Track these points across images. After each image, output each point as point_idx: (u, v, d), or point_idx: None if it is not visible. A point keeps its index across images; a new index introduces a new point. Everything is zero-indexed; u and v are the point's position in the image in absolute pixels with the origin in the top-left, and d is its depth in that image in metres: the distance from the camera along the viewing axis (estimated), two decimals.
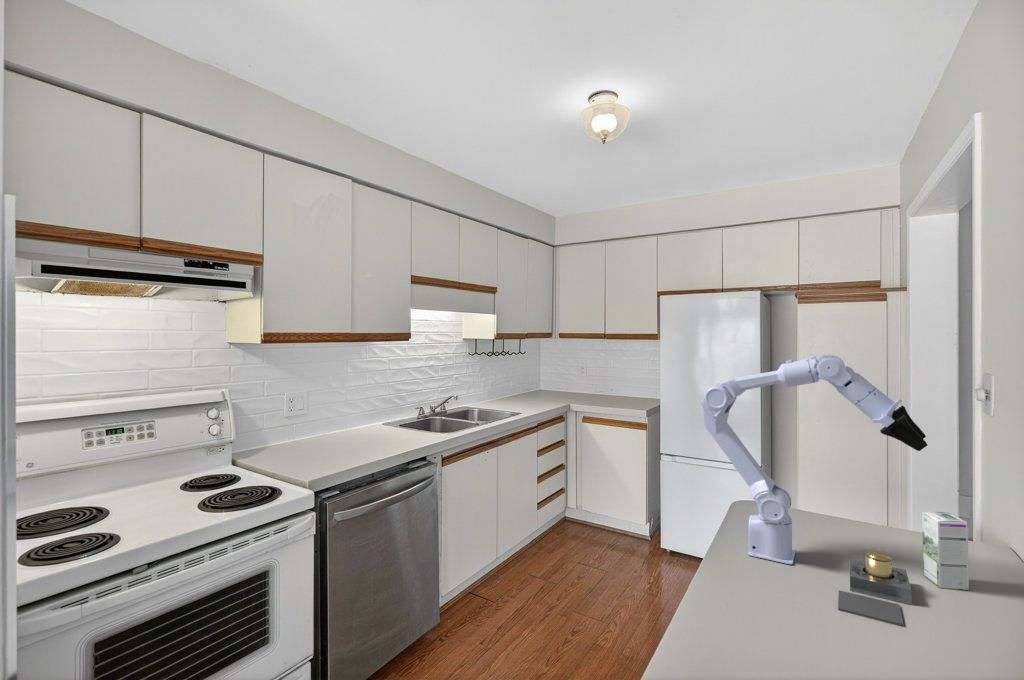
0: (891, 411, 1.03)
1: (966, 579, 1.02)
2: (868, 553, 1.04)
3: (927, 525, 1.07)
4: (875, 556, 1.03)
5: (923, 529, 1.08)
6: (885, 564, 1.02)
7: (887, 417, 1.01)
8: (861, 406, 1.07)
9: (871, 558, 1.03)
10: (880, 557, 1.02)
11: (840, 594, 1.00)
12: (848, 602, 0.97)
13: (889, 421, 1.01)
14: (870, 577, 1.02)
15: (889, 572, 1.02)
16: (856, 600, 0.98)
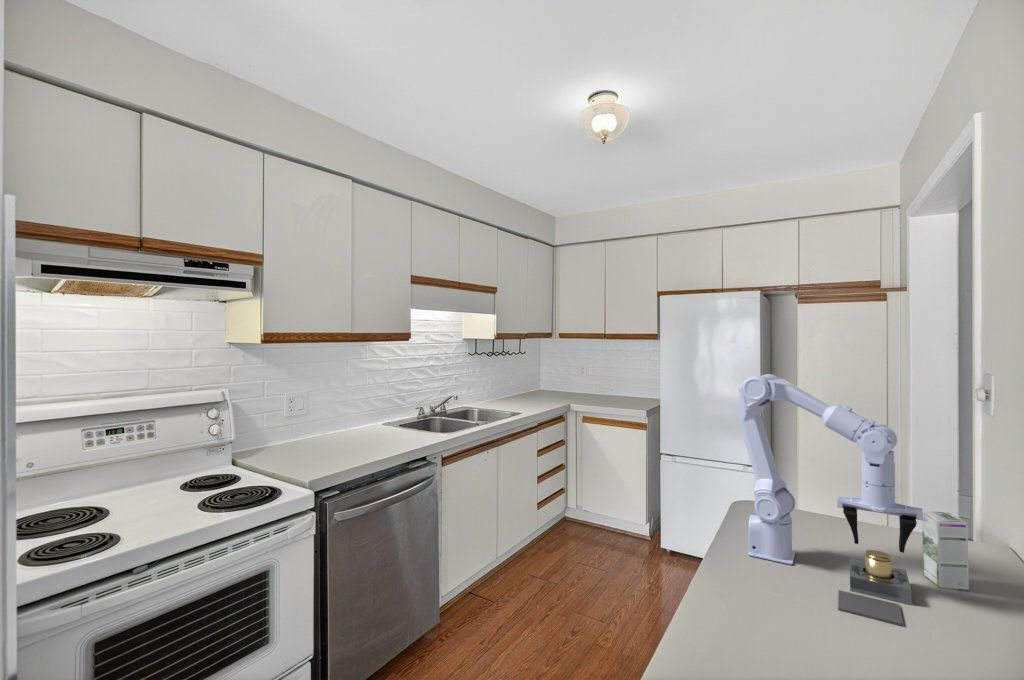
0: (853, 504, 1.05)
1: (966, 579, 1.02)
2: (868, 553, 1.04)
3: (927, 525, 1.07)
4: (875, 556, 1.03)
5: (923, 529, 1.08)
6: (885, 564, 1.02)
7: (837, 500, 1.07)
8: None
9: (871, 558, 1.03)
10: (880, 557, 1.02)
11: (840, 594, 1.00)
12: (848, 602, 0.97)
13: None
14: (870, 577, 1.02)
15: (889, 572, 1.02)
16: (856, 600, 0.98)
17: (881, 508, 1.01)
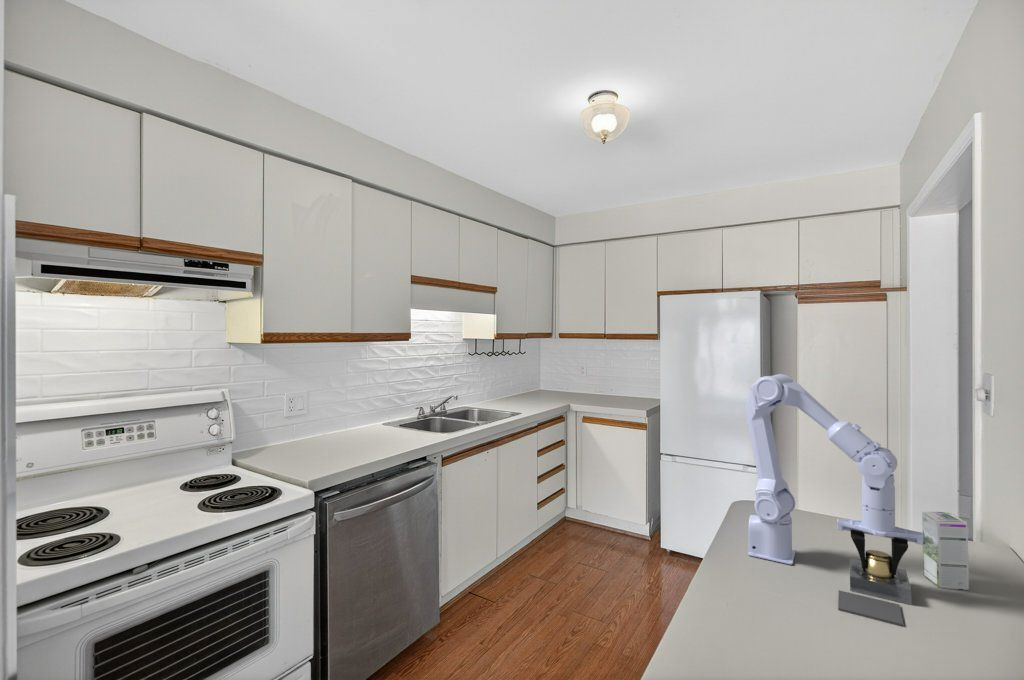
0: (853, 527, 1.05)
1: (966, 579, 1.02)
2: (868, 553, 1.04)
3: (927, 525, 1.07)
4: (875, 556, 1.03)
5: (923, 529, 1.08)
6: (885, 564, 1.02)
7: (837, 523, 1.07)
8: None
9: (871, 558, 1.03)
10: (880, 557, 1.02)
11: (840, 594, 1.00)
12: (848, 602, 0.97)
13: None
14: (870, 577, 1.02)
15: (889, 572, 1.02)
16: (856, 600, 0.98)
17: (881, 532, 1.01)
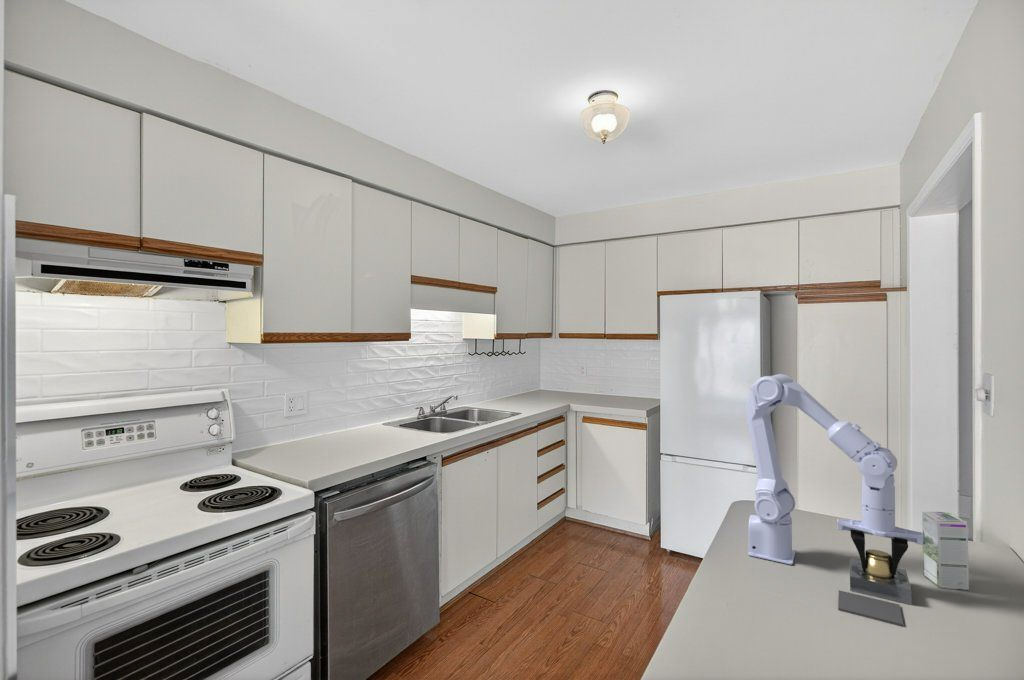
0: (853, 527, 1.05)
1: (966, 579, 1.02)
2: (868, 552, 1.04)
3: (927, 525, 1.07)
4: (875, 555, 1.03)
5: (923, 529, 1.08)
6: (885, 563, 1.02)
7: (837, 523, 1.07)
8: None
9: (871, 557, 1.03)
10: (880, 556, 1.02)
11: (840, 594, 1.00)
12: (848, 602, 0.97)
13: None
14: (870, 577, 1.02)
15: (889, 571, 1.02)
16: (856, 600, 0.98)
17: (881, 532, 1.01)
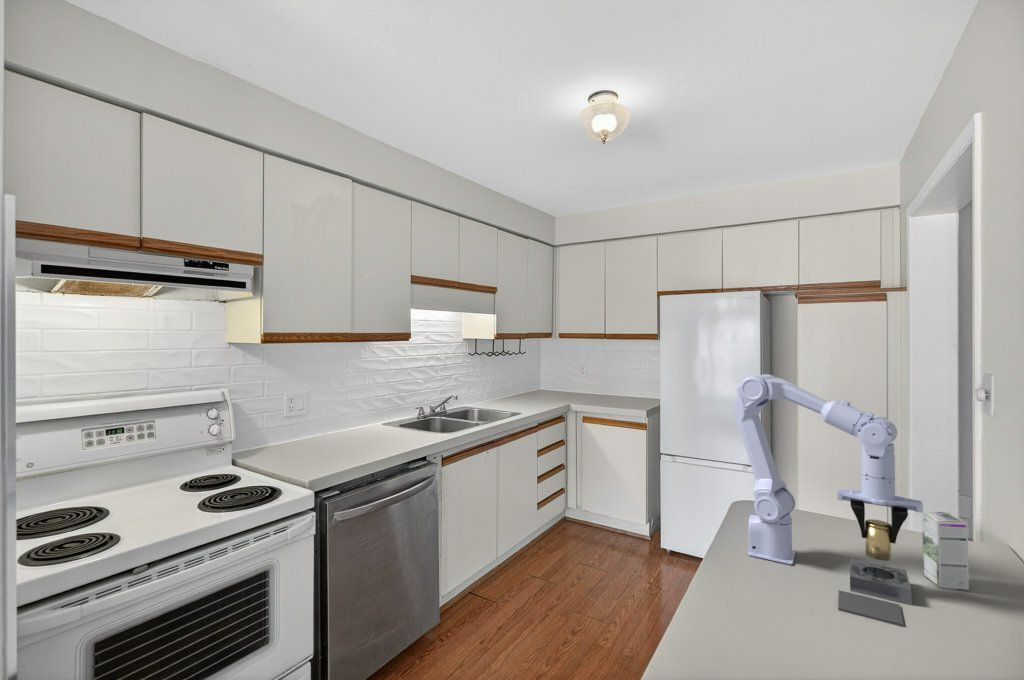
0: (853, 496, 1.05)
1: (966, 579, 1.02)
2: (868, 522, 1.04)
3: (927, 525, 1.07)
4: (875, 524, 1.03)
5: (923, 529, 1.08)
6: (885, 532, 1.02)
7: (837, 493, 1.07)
8: None
9: (871, 526, 1.03)
10: (880, 525, 1.02)
11: (840, 594, 1.00)
12: (848, 602, 0.97)
13: None
14: (870, 577, 1.02)
15: (889, 540, 1.02)
16: (856, 600, 0.98)
17: (881, 500, 1.01)
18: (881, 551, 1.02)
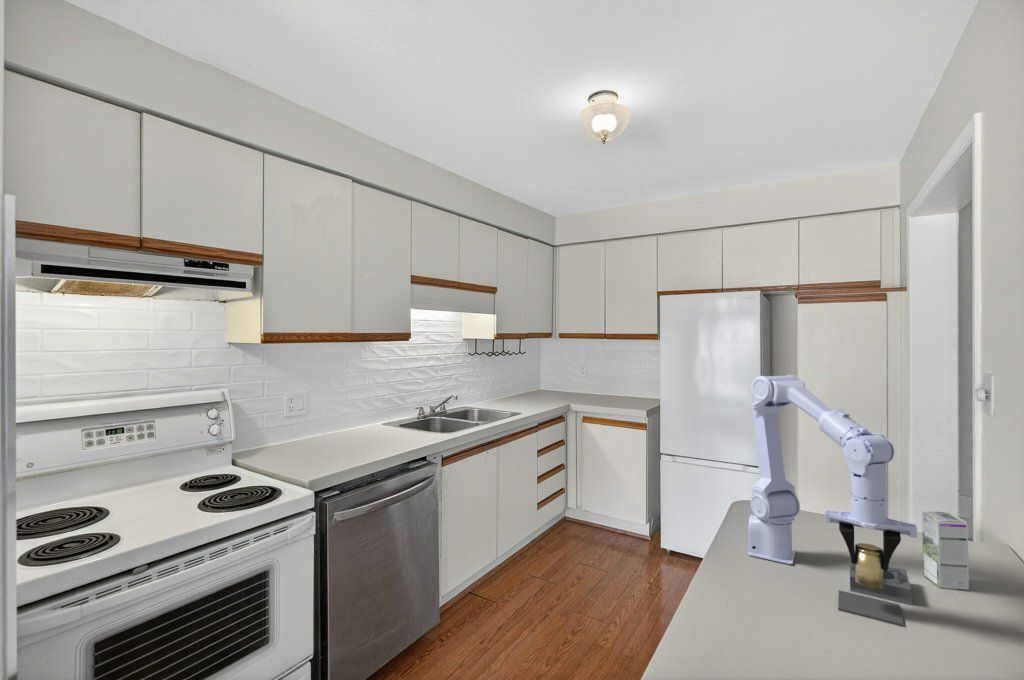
0: (842, 519, 0.97)
1: (966, 579, 1.02)
2: (858, 546, 0.96)
3: (927, 525, 1.07)
4: (865, 549, 0.95)
5: (923, 529, 1.08)
6: (876, 558, 0.94)
7: None
8: None
9: (861, 552, 0.95)
10: (871, 551, 0.94)
11: (840, 594, 1.00)
12: (848, 602, 0.97)
13: None
14: None
15: (880, 567, 0.94)
16: (856, 600, 0.98)
17: (871, 524, 0.93)
18: (872, 579, 0.94)
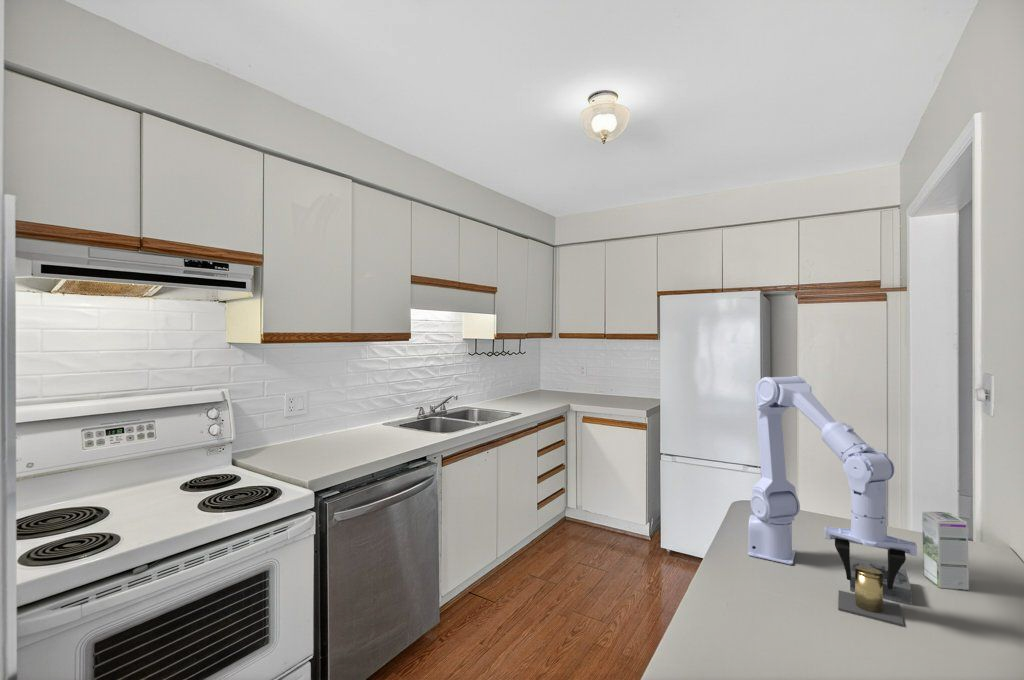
0: (842, 536, 0.97)
1: (966, 579, 1.02)
2: (858, 569, 0.96)
3: (927, 525, 1.07)
4: (865, 572, 0.95)
5: (923, 529, 1.08)
6: (876, 581, 0.94)
7: None
8: None
9: (861, 574, 0.95)
10: (870, 574, 0.94)
11: (840, 594, 1.00)
12: (848, 602, 0.97)
13: None
14: None
15: (880, 590, 0.94)
16: None
17: (872, 542, 0.93)
18: (871, 602, 0.94)
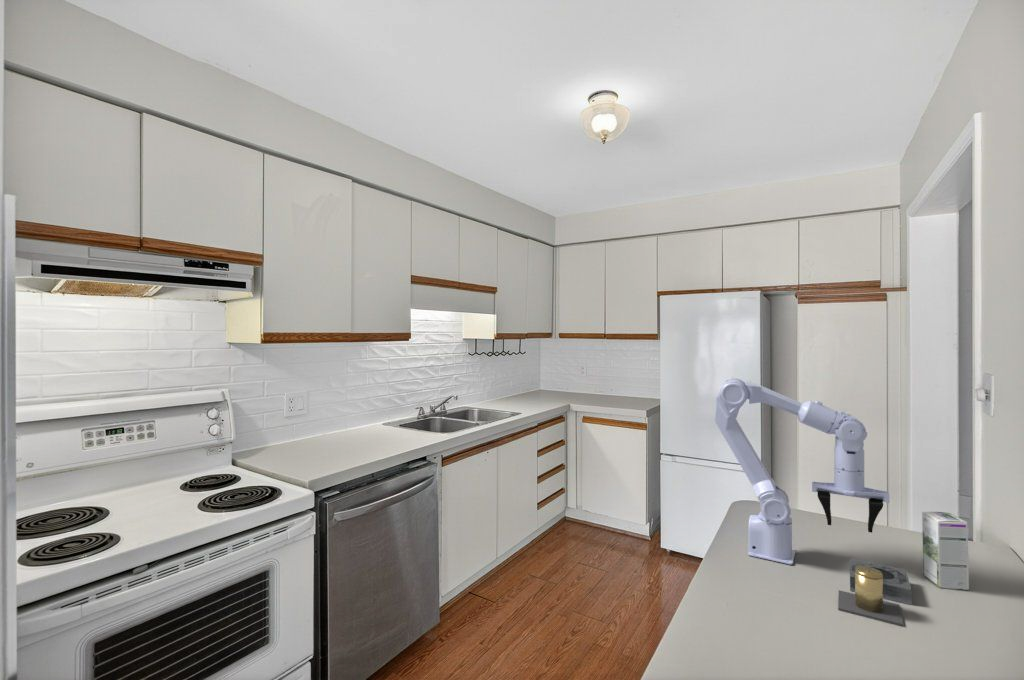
0: (826, 488, 1.13)
1: (966, 579, 1.02)
2: (858, 569, 0.96)
3: (927, 525, 1.07)
4: (865, 573, 0.95)
5: (923, 529, 1.08)
6: (876, 582, 0.94)
7: (812, 485, 1.16)
8: None
9: (861, 575, 0.95)
10: (871, 574, 0.94)
11: (840, 594, 1.00)
12: (848, 602, 0.97)
13: None
14: None
15: (880, 590, 0.94)
16: None
17: (851, 491, 1.09)
18: (871, 603, 0.94)
